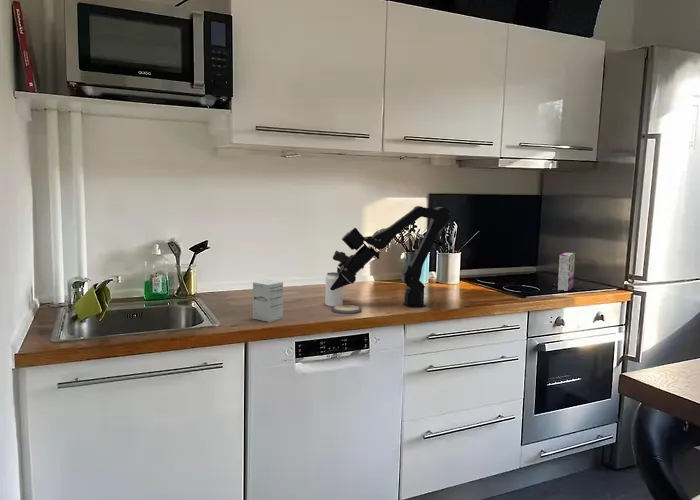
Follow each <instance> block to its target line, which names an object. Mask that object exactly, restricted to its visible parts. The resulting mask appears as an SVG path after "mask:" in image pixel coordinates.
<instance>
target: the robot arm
mask: <svg viewBox="0 0 700 500" xmlns="http://www.w3.org/2000/svg"><path fill="white" fill-rule="evenodd" d="M451 216H452V214H451V211H450V210H449V209H448V208H446V207H443V206H437V207H434V208H431V207H424V206H421V205H416V206H414V207H413V209H411V210H410V211H409V212H408V213H406V214H405V215H403V216H402V217H400V218H399V219H398V220H396V221H395V222H394V223H393V224H391V225H390V226H388V227H386V228H383V229H380V230H378V231H377V232H375V233H373V234H372V235H370V236H363V235H362V234H361V233H360V231H359V230H358V228H357V227H353V228H352V229H351V230H349V231H348V232H346V233H345V234H344V235H343V237H342V238H341V241H343V242H344V243H345V245H347V247H348V248H349V249H350V250H351V251H353V250H355V251H356V252H355V253H354V254H351V255H347V254H346V252H343V251H341V252H340V251H338V250H335V252H334V253H333V256H332V260H334V261H336V262H339V263H338V264H337V267H336V269H337V270H336V273H339V276H338V278H337V280H336V281H335V282H334V284H333V285H332V286H331V288H330V289H331V290H335V289H338V288H340V287H343V288H344V286H347V285H351V284H352V285H353V284H354V283H355V282H356V279H357V277H356V276H357V274H358V272H359V271H360V270H363V269H364V268H365V266H366V264H368V263H369V262H370V261H371V260H372V259H373V258H374V257H375V258H376V259H378V260H380V253H381V252H380V251H377V250H383V249H385V248H386V247H387V246H389V244H390V243H391V242H392V241H393V240H394V238H395V237H396V236H397V235H398V234H400V233H401V232H403V231H404V230H405V229H406V228H408V227H409V226H410V225H412V224H413V223H414V222H416V221H417V220H418V219H420V218H427V219H429V224H428V227H427V230H426V232H425V234H424V236H423V239H422V241H421V242H420V244H419V245H418V248H417V250H416V253H415V254H414V257H413V258H412V260H411V262H410V263H407V262H405V264H404V266H403V269H402V270H401V271H400V273H401V276H400V277H401V280H402V282H403V283H404V284H405V286H406V287H407V288H406V289H405V293H404V302H403V305H405V306H408V307H410V308H418V307H426V306H427V305H426V304H425V287H426V285H425V284H424V283H422V281H421V280H420V278H421V275H422V273H423V272H422V271H423V266H424V263H425V262H426V259H427V257H428V256H429V253H430V252H431V250H432V247H433V245H434V243H435V242H436V241H435V240H436V239H437V237H438V235H439V233H440V232H441V230H442V229H444V227H445V226H446V225H447V224H448V222H449V221H450V219H451ZM368 245H370V246H368ZM376 249H377V250H376Z"/></svg>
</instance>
